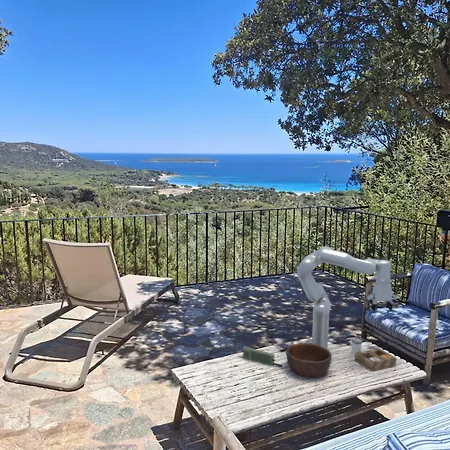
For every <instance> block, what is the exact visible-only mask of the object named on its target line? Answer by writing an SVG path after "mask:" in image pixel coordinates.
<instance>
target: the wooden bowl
mask: <svg viewBox="0 0 450 450" xmlns="http://www.w3.org/2000/svg"><path fill="white" fill-rule="evenodd" d="M329 350H330V349H329ZM329 350H327V349H326V348H324V347H322V346H319V345H315V344H312V343H309V342H308V343H307V342H305V343H304V342H301V343H294V344H291V345H289V346H288V347H287V348H286V351H285V352H286V353H285V354H286V355H285V356H286V361H287V362H286V363H287V364H288V367H289V369H290V370H291V371H292V372H293V373H294V374H295V375H297V376H301V377H304V378H312V379H313V378H320V377H322V376H324V375H325V374H327V372H328V371H329V369H330V367H331V363H332V358H333V356H332V353H331V350H330V351H329Z"/></svg>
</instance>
